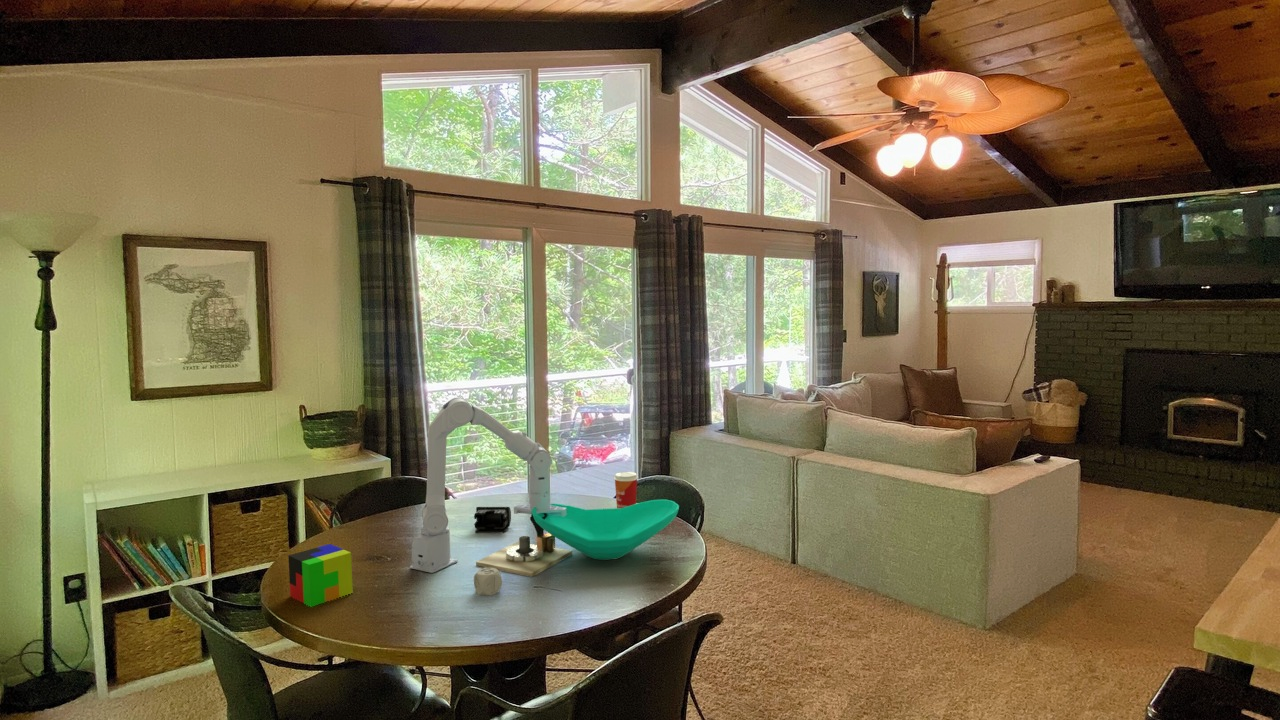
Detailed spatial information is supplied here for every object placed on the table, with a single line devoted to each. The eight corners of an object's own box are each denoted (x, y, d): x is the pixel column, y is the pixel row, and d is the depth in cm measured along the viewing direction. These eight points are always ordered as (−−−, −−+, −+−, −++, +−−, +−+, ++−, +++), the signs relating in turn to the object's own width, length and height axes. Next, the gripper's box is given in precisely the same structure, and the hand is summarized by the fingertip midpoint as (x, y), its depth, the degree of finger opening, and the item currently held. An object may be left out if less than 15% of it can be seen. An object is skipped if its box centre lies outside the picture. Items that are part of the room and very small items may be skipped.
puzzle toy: (331, 583, 173) (330, 543, 173) (352, 593, 167) (351, 552, 166) (290, 597, 166) (288, 555, 165) (310, 608, 159) (308, 564, 159)
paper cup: (611, 515, 228) (611, 472, 226) (634, 513, 230) (633, 470, 229) (618, 522, 220) (617, 478, 219) (641, 519, 222) (641, 475, 221)
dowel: (550, 553, 190) (550, 540, 190) (545, 552, 191) (545, 539, 191) (554, 551, 192) (553, 538, 191) (549, 550, 192) (548, 537, 192)
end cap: (511, 525, 218) (510, 504, 218) (506, 533, 211) (505, 510, 211) (479, 525, 218) (478, 504, 218) (473, 533, 211) (472, 510, 211)
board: (532, 576, 176) (531, 553, 175) (476, 565, 184) (475, 542, 184) (572, 554, 192) (571, 532, 191) (518, 544, 200) (518, 523, 200)
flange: (520, 564, 181) (520, 550, 181) (499, 554, 188) (498, 541, 188) (563, 551, 191) (563, 537, 190) (541, 542, 198) (541, 529, 198)
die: (482, 597, 164) (481, 576, 163) (473, 591, 168) (473, 570, 167) (502, 592, 167) (501, 571, 166) (493, 586, 171) (492, 565, 170)
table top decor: (672, 536, 206) (671, 491, 205) (687, 571, 179) (687, 520, 178) (534, 541, 202) (533, 496, 201) (528, 578, 175) (527, 526, 174)
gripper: (509, 493, 191) (510, 543, 192) (560, 496, 188) (561, 546, 189) (518, 487, 198) (519, 534, 199) (568, 489, 195) (569, 538, 196)
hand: (540, 540), depth 194 cm, fingers closed, pressing on flange
